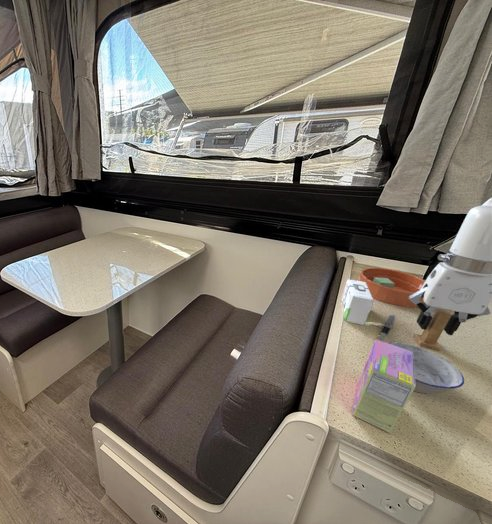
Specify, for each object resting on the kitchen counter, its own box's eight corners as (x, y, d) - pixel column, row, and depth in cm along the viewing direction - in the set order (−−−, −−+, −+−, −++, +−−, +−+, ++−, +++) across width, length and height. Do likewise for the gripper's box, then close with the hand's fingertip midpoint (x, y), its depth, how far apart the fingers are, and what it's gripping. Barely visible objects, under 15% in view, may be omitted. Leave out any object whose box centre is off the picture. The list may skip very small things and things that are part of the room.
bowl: (442, 416, 51) (454, 398, 49) (363, 371, 61) (370, 355, 59) (462, 385, 57) (473, 368, 55) (387, 350, 67) (394, 334, 65)
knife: (372, 336, 72) (386, 340, 70) (372, 333, 71) (387, 338, 69) (382, 313, 81) (396, 316, 79) (383, 310, 81) (396, 314, 79)
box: (357, 381, 58) (375, 338, 53) (391, 396, 55) (415, 351, 50) (350, 415, 51) (371, 368, 46) (389, 434, 48) (416, 386, 43)
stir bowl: (413, 287, 95) (419, 273, 93) (436, 314, 80) (445, 298, 78) (351, 277, 102) (355, 264, 100) (362, 300, 88) (367, 285, 85)
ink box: (344, 321, 78) (339, 302, 87) (365, 326, 75) (358, 305, 85) (352, 295, 74) (346, 278, 84) (375, 299, 72) (366, 281, 82)
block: (383, 288, 94) (387, 278, 92) (390, 294, 90) (395, 283, 88) (370, 287, 94) (374, 277, 93) (377, 292, 91) (381, 282, 89)
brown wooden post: (433, 340, 70) (450, 308, 66) (440, 350, 66) (459, 317, 62) (413, 336, 71) (429, 304, 67) (419, 345, 68) (436, 313, 64)
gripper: (426, 262, 60) (395, 328, 67) (539, 277, 53) (490, 348, 61) (413, 251, 66) (386, 313, 74) (513, 263, 59) (472, 329, 67)
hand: (434, 328), depth 67 cm, fingers open, 4 cm apart
